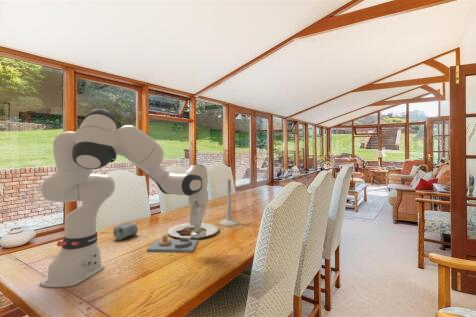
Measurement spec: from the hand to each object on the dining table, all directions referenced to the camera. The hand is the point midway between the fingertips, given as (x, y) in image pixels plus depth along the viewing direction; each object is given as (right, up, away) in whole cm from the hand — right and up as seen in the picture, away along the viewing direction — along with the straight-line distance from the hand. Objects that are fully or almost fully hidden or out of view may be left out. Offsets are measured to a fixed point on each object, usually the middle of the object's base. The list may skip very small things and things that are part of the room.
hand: (197, 229), depth 121 cm
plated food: (-8, -12, +36) cm, 39 cm away
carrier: (-14, -12, +12) cm, 22 cm away
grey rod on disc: (+13, -11, +54) cm, 57 cm away
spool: (-45, -12, +26) cm, 53 cm away
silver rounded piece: (0, -3, 0) cm, 3 cm away
